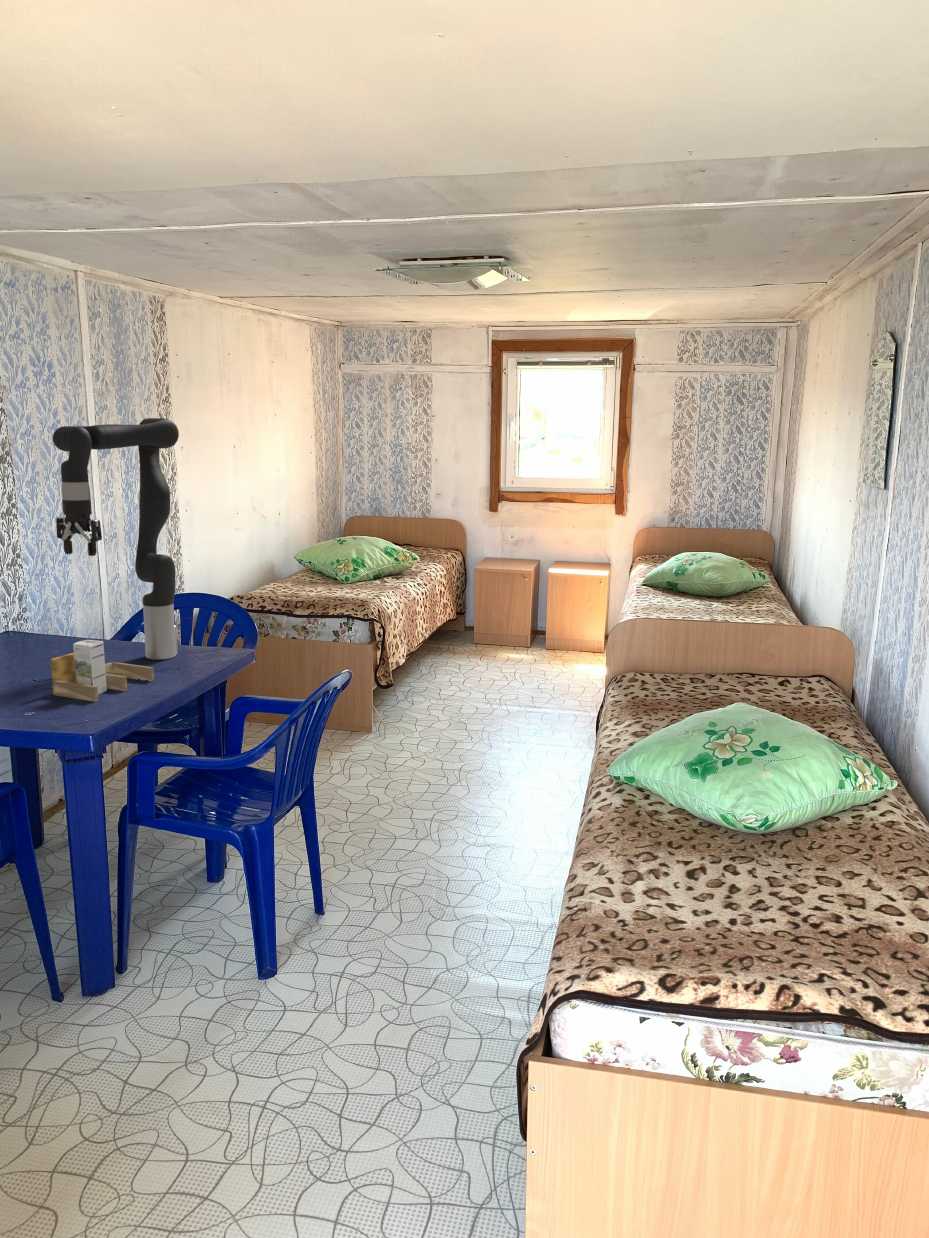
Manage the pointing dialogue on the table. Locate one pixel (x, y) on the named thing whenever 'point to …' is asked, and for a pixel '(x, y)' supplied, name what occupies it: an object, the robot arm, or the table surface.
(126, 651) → the table surface
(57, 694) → the wooden rack
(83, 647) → the syrup box
